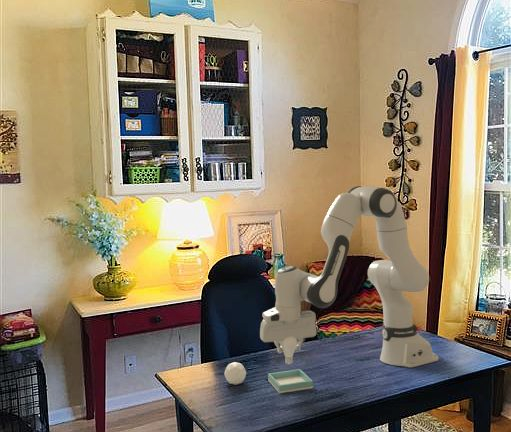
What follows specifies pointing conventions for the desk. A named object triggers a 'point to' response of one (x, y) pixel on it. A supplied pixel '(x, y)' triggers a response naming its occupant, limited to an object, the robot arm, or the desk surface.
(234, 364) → the geometric ball
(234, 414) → the desk surface
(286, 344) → the lightbulb
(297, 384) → the dish
